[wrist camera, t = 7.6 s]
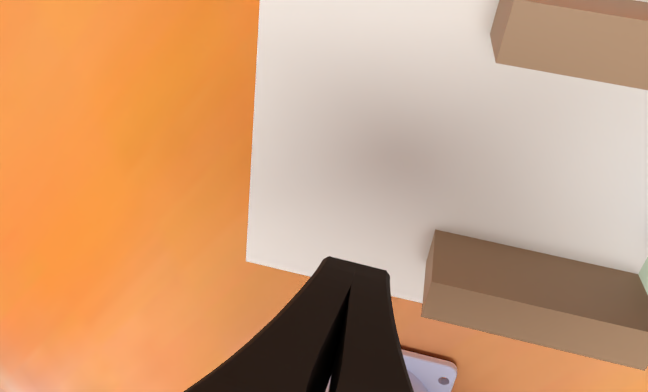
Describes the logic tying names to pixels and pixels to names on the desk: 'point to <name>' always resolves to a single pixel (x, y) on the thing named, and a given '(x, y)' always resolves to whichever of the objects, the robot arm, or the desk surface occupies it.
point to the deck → (463, 159)
